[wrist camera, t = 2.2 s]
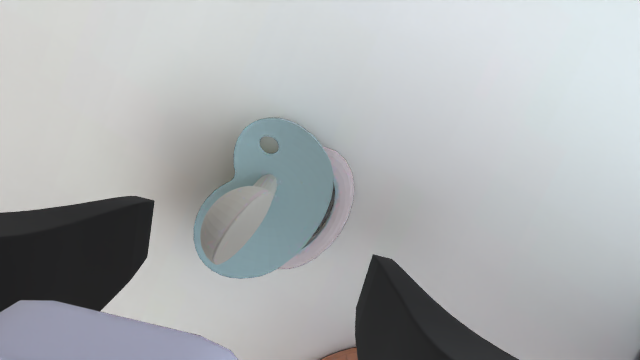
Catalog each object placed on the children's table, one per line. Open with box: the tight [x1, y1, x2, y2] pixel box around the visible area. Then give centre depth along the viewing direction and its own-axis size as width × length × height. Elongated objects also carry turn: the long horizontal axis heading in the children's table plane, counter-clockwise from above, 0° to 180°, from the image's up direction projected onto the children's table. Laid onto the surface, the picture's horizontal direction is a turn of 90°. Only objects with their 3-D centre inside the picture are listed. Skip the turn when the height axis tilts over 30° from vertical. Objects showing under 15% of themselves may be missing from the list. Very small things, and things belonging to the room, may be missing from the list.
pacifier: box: [194, 118, 354, 279], centre depth 15 cm, size 7×6×6 cm
